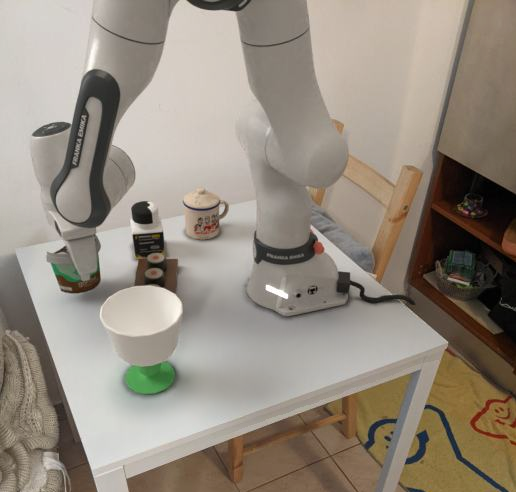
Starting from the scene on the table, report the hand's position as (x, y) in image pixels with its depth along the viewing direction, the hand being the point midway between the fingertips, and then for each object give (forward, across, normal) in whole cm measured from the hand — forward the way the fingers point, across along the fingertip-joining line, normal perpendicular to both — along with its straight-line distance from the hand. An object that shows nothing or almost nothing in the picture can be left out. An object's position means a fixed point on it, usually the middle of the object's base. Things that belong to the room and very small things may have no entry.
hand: (80, 269), depth 116 cm
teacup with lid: (+6, -14, +35) cm, 38 cm away
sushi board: (+6, +6, +14) cm, 16 cm away
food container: (+4, +1, +1) cm, 4 cm away
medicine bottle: (+6, -11, +18) cm, 22 cm away
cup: (+6, +30, +4) cm, 31 cm away
